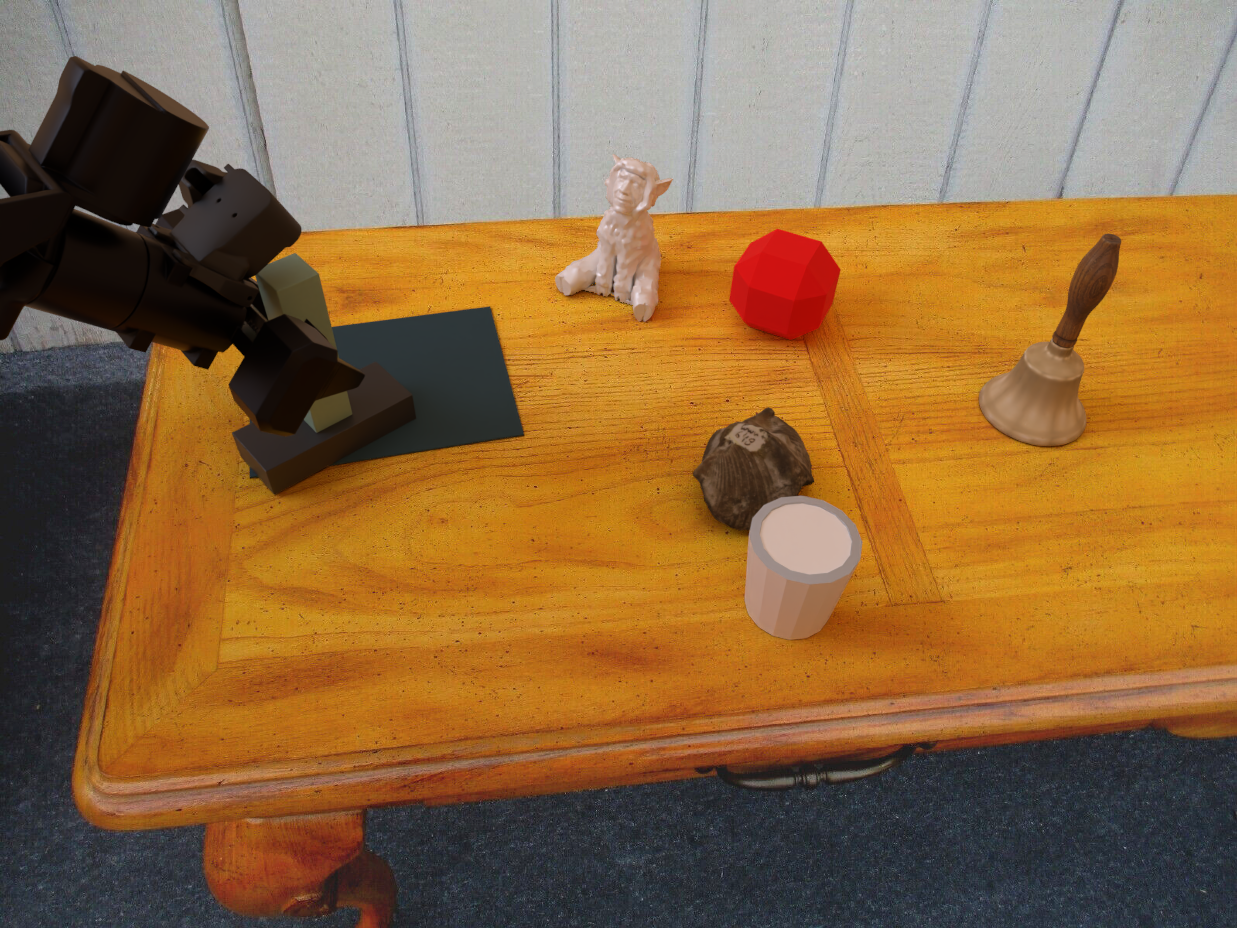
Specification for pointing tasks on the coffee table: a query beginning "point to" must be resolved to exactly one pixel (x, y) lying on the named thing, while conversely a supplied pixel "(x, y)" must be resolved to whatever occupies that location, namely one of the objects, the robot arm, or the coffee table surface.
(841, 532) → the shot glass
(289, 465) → the wiper
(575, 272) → the white creature statuette
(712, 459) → the fossilized seashell
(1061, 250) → the coffee table surface
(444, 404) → the cloth mat
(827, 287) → the ball
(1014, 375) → the hand bell
